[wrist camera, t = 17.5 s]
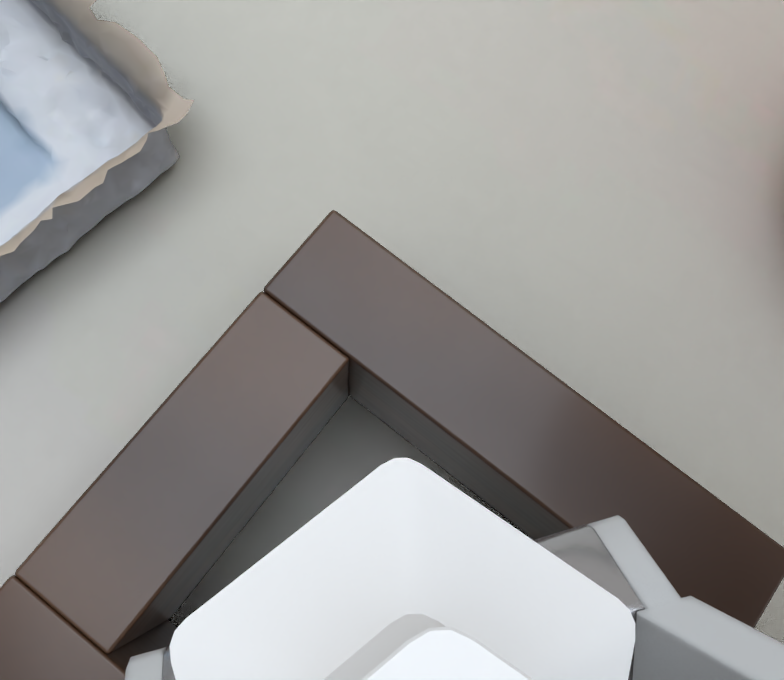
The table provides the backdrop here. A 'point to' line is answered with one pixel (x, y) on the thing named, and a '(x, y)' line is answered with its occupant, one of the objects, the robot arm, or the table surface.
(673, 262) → the table surface
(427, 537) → the perfume bottle
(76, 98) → the picture frame
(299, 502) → the table surface
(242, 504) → the rack
